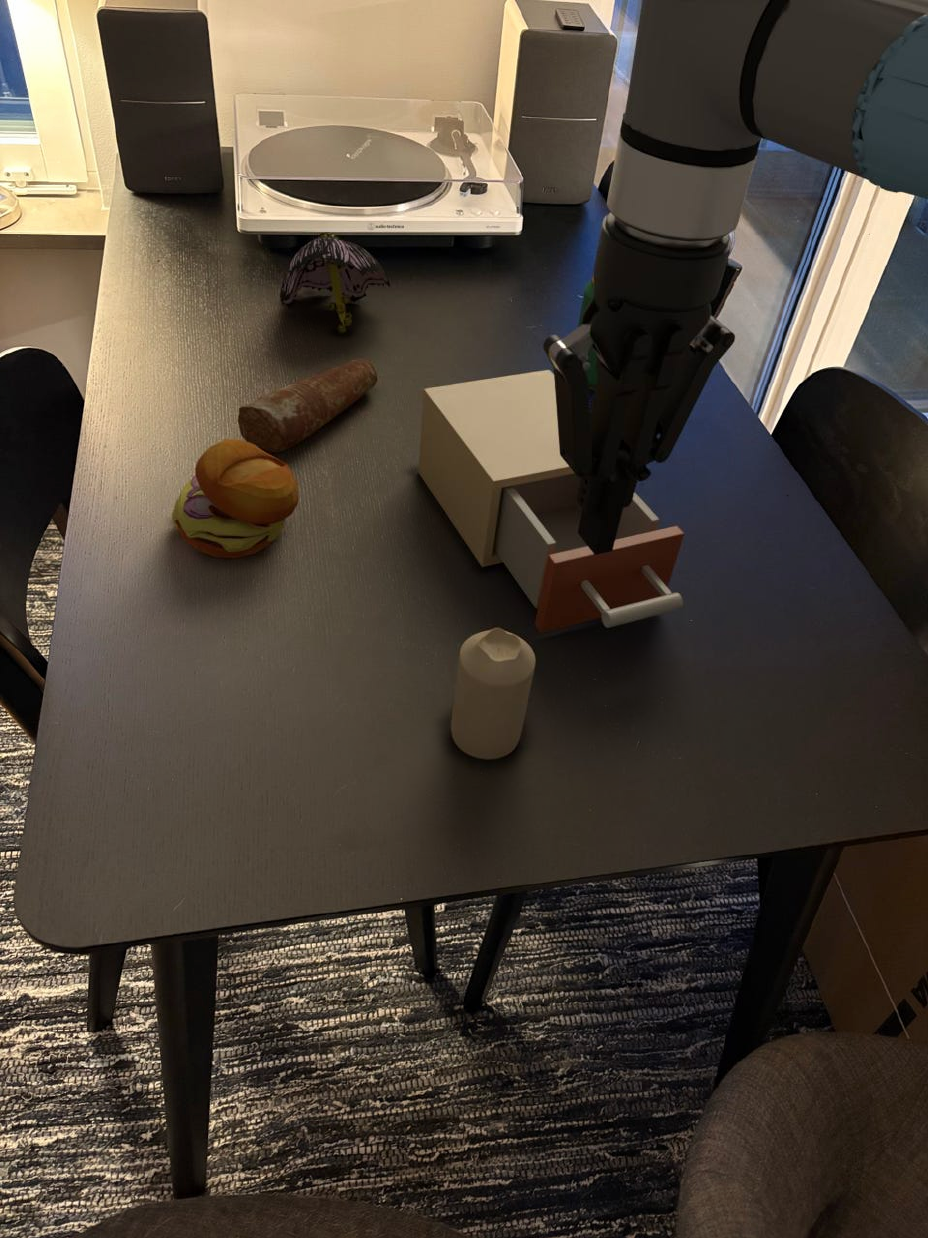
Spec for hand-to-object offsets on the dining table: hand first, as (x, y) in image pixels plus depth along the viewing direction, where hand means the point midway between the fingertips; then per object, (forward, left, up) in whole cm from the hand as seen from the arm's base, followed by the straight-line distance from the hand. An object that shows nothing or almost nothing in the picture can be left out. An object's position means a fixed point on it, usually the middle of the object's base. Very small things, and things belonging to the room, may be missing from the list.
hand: (594, 541), depth 72 cm
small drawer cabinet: (+16, -16, -14) cm, 27 cm away
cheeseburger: (+33, +5, -14) cm, 37 cm away
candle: (+1, +10, -14) cm, 17 cm away
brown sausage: (+41, -14, -14) cm, 46 cm away
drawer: (+4, -10, -13) cm, 17 cm away
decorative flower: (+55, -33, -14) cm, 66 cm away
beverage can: (+22, -45, -14) cm, 53 cm away
